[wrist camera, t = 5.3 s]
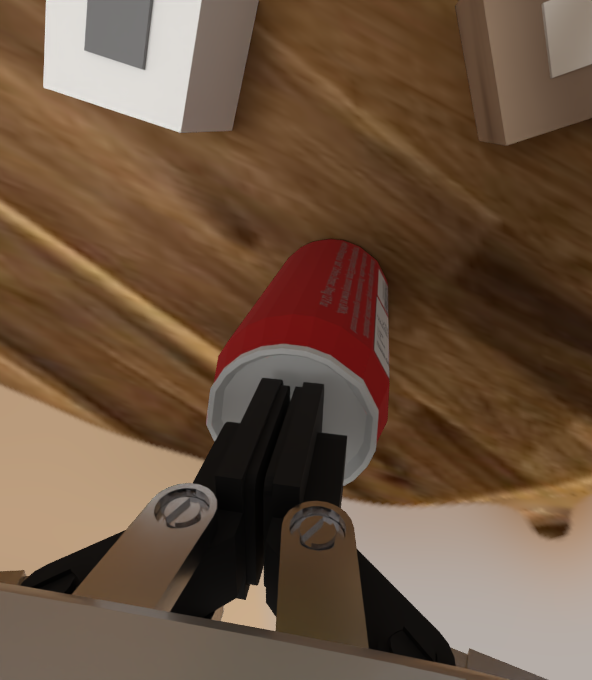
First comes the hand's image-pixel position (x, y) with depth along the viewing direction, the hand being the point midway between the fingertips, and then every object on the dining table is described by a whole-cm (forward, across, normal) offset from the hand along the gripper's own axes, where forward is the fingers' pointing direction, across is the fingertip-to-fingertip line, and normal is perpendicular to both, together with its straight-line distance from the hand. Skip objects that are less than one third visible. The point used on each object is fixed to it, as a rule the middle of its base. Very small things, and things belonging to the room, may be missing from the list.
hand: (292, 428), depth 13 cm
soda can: (+12, 0, 0) cm, 12 cm away
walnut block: (+12, -7, -10) cm, 17 cm away
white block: (+12, +7, -10) cm, 17 cm away
